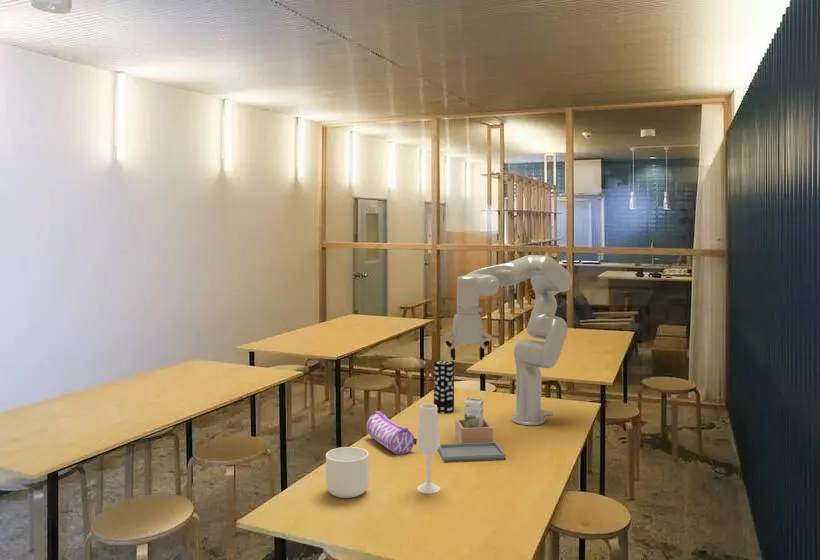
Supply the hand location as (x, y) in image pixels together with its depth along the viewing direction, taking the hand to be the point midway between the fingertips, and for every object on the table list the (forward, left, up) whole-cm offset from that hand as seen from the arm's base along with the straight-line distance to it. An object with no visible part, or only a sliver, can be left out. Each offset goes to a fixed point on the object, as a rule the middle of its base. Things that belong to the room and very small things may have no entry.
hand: (467, 359), depth 225 cm
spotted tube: (+2, -36, -29) cm, 46 cm away
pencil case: (+28, +4, -29) cm, 40 cm away
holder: (-2, +2, -28) cm, 29 cm away
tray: (+2, +16, -28) cm, 33 cm away
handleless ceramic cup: (+43, +42, -29) cm, 67 cm away
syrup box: (-2, +2, -29) cm, 29 cm away
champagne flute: (+20, +42, -29) cm, 55 cm away
